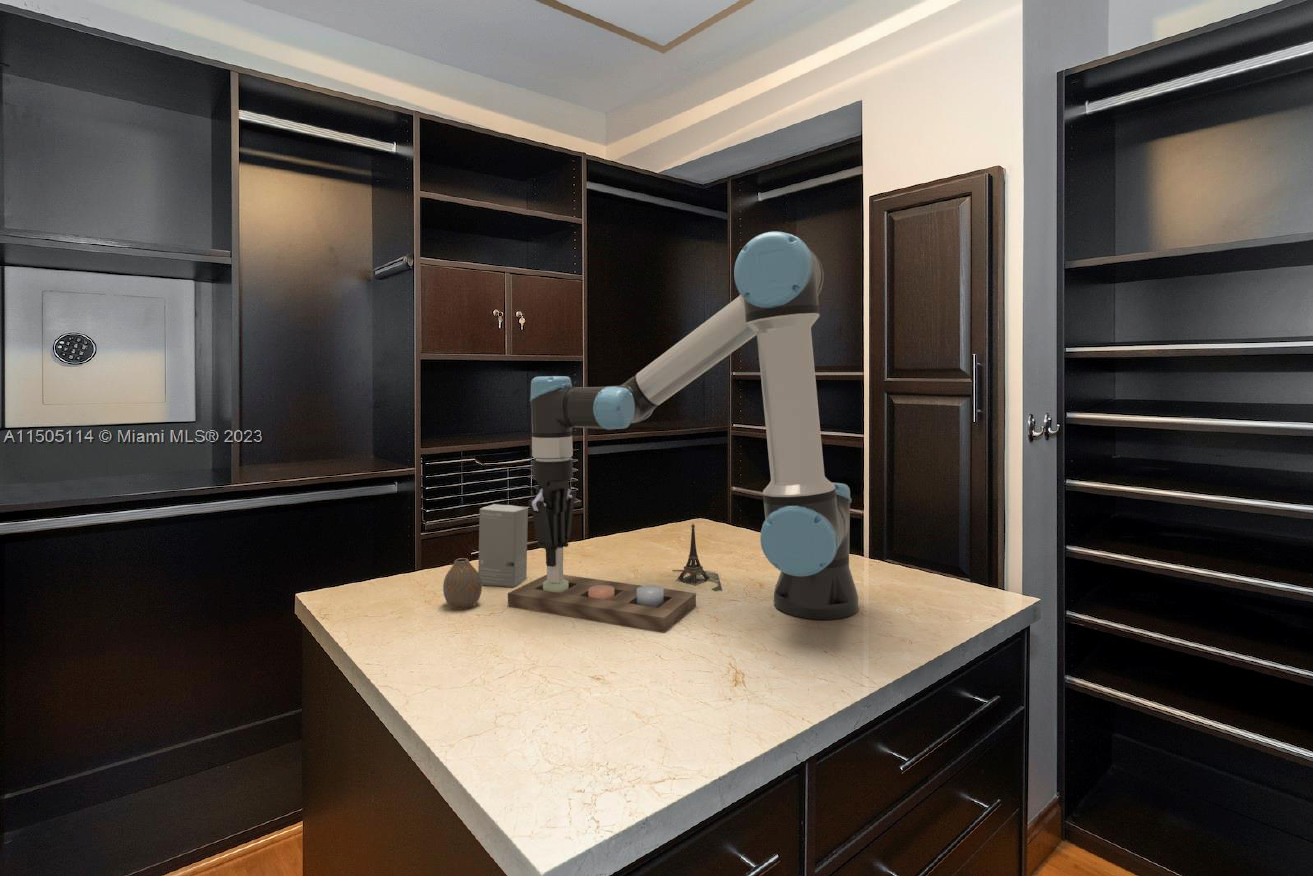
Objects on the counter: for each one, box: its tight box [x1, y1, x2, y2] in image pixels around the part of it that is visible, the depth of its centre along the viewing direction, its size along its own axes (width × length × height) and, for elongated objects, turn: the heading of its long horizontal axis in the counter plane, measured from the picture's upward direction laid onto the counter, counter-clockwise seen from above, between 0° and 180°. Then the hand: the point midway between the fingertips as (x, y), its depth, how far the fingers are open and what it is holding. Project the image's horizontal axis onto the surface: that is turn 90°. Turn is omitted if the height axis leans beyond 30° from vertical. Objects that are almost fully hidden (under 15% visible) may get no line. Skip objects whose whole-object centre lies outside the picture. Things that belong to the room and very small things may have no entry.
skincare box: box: [477, 503, 529, 588], centre depth 143 cm, size 8×7×16 cm
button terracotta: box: [588, 585, 614, 600], centre depth 128 cm, size 5×5×3 cm
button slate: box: [637, 584, 664, 608], centre depth 124 cm, size 5×5×3 cm
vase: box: [442, 557, 483, 610], centre depth 129 cm, size 7×7×9 cm
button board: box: [507, 574, 697, 633], centre depth 128 cm, size 32×14×2 cm, turn 65°
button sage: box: [543, 579, 569, 593], centre depth 133 cm, size 5×5×3 cm
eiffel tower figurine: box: [672, 523, 723, 592], centre depth 143 cm, size 15×10×13 cm
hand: (555, 581), depth 132 cm, fingers closed
